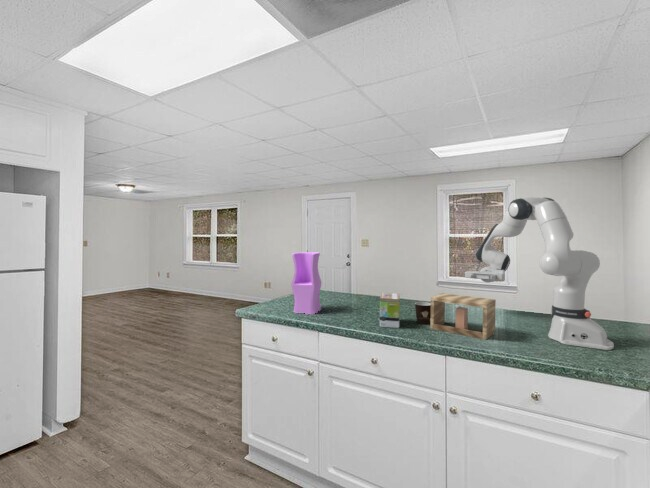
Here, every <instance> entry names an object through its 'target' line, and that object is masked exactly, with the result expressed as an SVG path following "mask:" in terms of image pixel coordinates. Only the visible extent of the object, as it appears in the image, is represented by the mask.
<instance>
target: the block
mask: <svg viewBox="0 0 650 488" xmlns="http://www.w3.org/2000/svg"><path fill="white" fill-rule="evenodd" d="M468 312H469V307H463V306H458V307H456V308H455V320H454V321H455V324H454V325H455V326H454V327H456V328H461V329H467V330H469V329H468V325H469V324H468V321H469V316H468V315H469V313H468Z"/></svg>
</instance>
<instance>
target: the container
mask: <svg viewBox="0 0 650 488" xmlns="http://www.w3.org/2000/svg"><path fill="white" fill-rule="evenodd" d="M320 255H321V252H318V251H316V252H315V251H313V252H312V251H311V252H310V251H309V252H307V251H304V252H303V251H302V252H301V251H299V252H298V251H297V252H294V253H291V257H292V260H293V264H294V274H293V278H292V282H291V290H292V293H293V298H294V307H293V312H295V313H305V314H304V315H308V314H314V315H316V314H317V313H319V312H320V311H321V310H322V306H321V301H320V296H321V295H320V294H321V287H322V280H321V277H320V273H319V260H320V259H319V258H320ZM318 311H319V312H318ZM295 313H294V314H295ZM315 313H316V314H315Z"/></svg>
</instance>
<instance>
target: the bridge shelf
mask: <svg viewBox="0 0 650 488" xmlns="http://www.w3.org/2000/svg"><path fill="white" fill-rule="evenodd" d="M430 303H431V318H430V329H431V330H435V331H440V332H445V333H450V334H454V335H455V334H456V335H461V336H465V337H470V338H476V339H481V340H488V339H489V338H491V336H492V334H493V333H494V334H495V333H496V304H497V303H496V299H492V298H485V297H476V296H468V295H461V294H460V295H459V294H453V293H451V294H450V293H445V292H444V293H443V292H441V293H438V294H436V295H433V296H430ZM446 303H448V304H454V305H462V306H468V307H469V306H470V307H476V308H482V332H481V331H477V330H471V329H468V330H467V329H461V328H456V327H455V326H450V325H444V324H445V321H446V320H445V317H446V316H445V315H446V314H445V312H446V305H445V304H446ZM494 334H493V335H494Z"/></svg>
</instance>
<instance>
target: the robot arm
mask: <svg viewBox="0 0 650 488" xmlns="http://www.w3.org/2000/svg"><path fill="white" fill-rule="evenodd" d="M528 220H529V221H530V220H531V221H537V225H538V226H539V229H540V232H541V235H542V237H543V241H544V251H543V252H544V253H543V254H542V255H541V257H540V259H539V267H540V269H541V271H542V272H543V273H544V274H546V275H550V276H555V277H561V279H560V281H559V283H558V284H557V285H555V286H554V288H553V291H552V292H553V294H552V295H553V298H552V306H551V313H550V315H551V318H552V319H551V322H550V323H551V325H550V329H549V331H548V335H547V337H548V338H549V339H552V340H554V341H556V342H559V343H561V344H562V345H568V346H575V347H583V348H590V349H597V350H605V351H610V350H613V349H615V344H614V342H613V341H611V340H610V339H608V334H607V333H606V330H605V329H604V327H602V326H601V325H600V324H598V323H597V322H595V321H594V320H593V319H591V316H592V312H591V311H590V310H588V309H586V308H585V299H586V290H587V287H588V283H589V282H590V279H591V278H592V276H593V275H594V273H596V272H597V271H598V270H599V269H600V267H601V262H600V261H601V260H600V257H598V256H597V254H595V253H594V252H591V251H588V250H582V249H581V250H579V249H578V250H576V249H575V250H572V249H571V247H570V242H571V240H572V239H574V232H573V229H572V227H571V225H570V222H569V219H568V217H567V215H566V214H565V212H564V210H563V209H562V207H561V206H560V204H559V203H558V202H557V201H556V200H554V199H553V198H550V197H525V198H521V197H520V198H516V199H513V200H512V201H511V202H510V203H509V205H508V207H507V210H506V212H505V214H504V215H503V218H502V221H501V222H500V223H497V224H495V225H494V226H492V228H491V229H490V230H489V232H488V233H487V234H486V235H485V239H483V241H482V243H481V244H480V246H479V247H478V249H477V250H476V251H475V257H476V260H477V261H478V262H482V263H485V264H487V265H488V266H485V267H482V268H481V269H480V270H469V271H465V272H464V278H466V279H472V280H473V279H474V280H477V279H478V280H481V281H482V282H484V283H494V282H496V283H497V282H499V283H501V282H505V281H506V271H507V270H508V269H509V266H510V263H511V258H510V255H509V254H507V253H505V252H502V251H500V250H497V249H495V248H493V247H492V246H491V245H492V243H493V242H494V240H495V239H496V238H499V237H502V238H514V237H517V236H520V235H521V234H522V232H523V230H524V228H525V227H526V225H527V222H528Z"/></svg>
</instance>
